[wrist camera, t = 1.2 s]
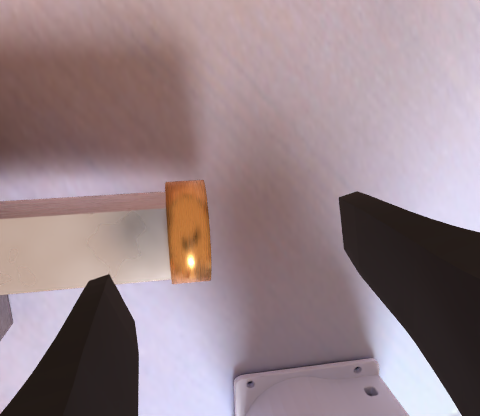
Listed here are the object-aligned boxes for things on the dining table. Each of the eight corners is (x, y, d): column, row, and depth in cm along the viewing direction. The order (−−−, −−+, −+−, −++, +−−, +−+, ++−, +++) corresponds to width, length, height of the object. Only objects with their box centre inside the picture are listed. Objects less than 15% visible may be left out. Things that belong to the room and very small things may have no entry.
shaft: (200, 171, 19) (207, 192, 15) (204, 257, 20) (213, 299, 16) (-117, 188, 17) (-211, 217, 13) (-92, 283, 18) (-170, 337, 14)
